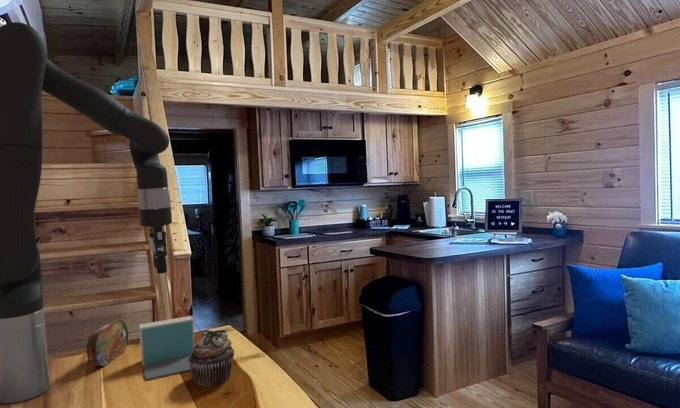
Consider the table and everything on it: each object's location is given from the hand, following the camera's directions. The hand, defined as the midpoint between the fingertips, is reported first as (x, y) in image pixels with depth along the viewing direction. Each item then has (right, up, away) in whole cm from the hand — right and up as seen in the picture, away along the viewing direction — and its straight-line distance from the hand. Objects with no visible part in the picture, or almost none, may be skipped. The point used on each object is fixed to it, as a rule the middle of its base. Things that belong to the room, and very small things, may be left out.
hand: (160, 270), depth 115 cm
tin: (-11, -22, -3) cm, 25 cm away
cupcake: (+18, -21, -16) cm, 32 cm away
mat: (+7, -21, -10) cm, 24 cm away
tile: (+4, -21, -4) cm, 22 cm away
